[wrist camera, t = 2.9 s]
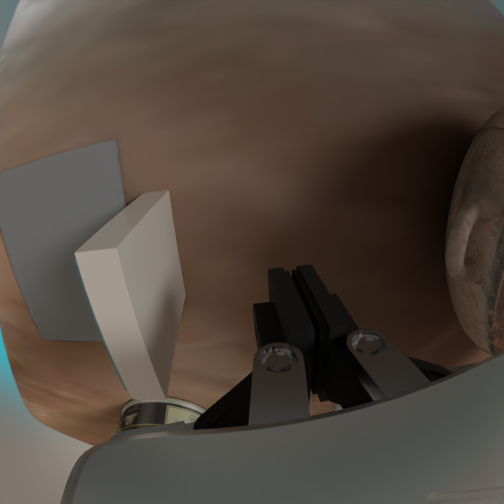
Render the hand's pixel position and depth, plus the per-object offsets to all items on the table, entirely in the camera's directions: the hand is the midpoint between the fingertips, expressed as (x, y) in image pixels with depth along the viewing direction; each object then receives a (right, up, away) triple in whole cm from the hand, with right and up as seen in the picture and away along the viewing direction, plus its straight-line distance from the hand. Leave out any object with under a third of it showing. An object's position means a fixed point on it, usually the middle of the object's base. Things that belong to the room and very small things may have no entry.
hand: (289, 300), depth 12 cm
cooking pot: (+18, +6, +7) cm, 21 cm away
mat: (-14, +1, +6) cm, 16 cm away
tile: (-7, +2, +6) cm, 10 cm away
